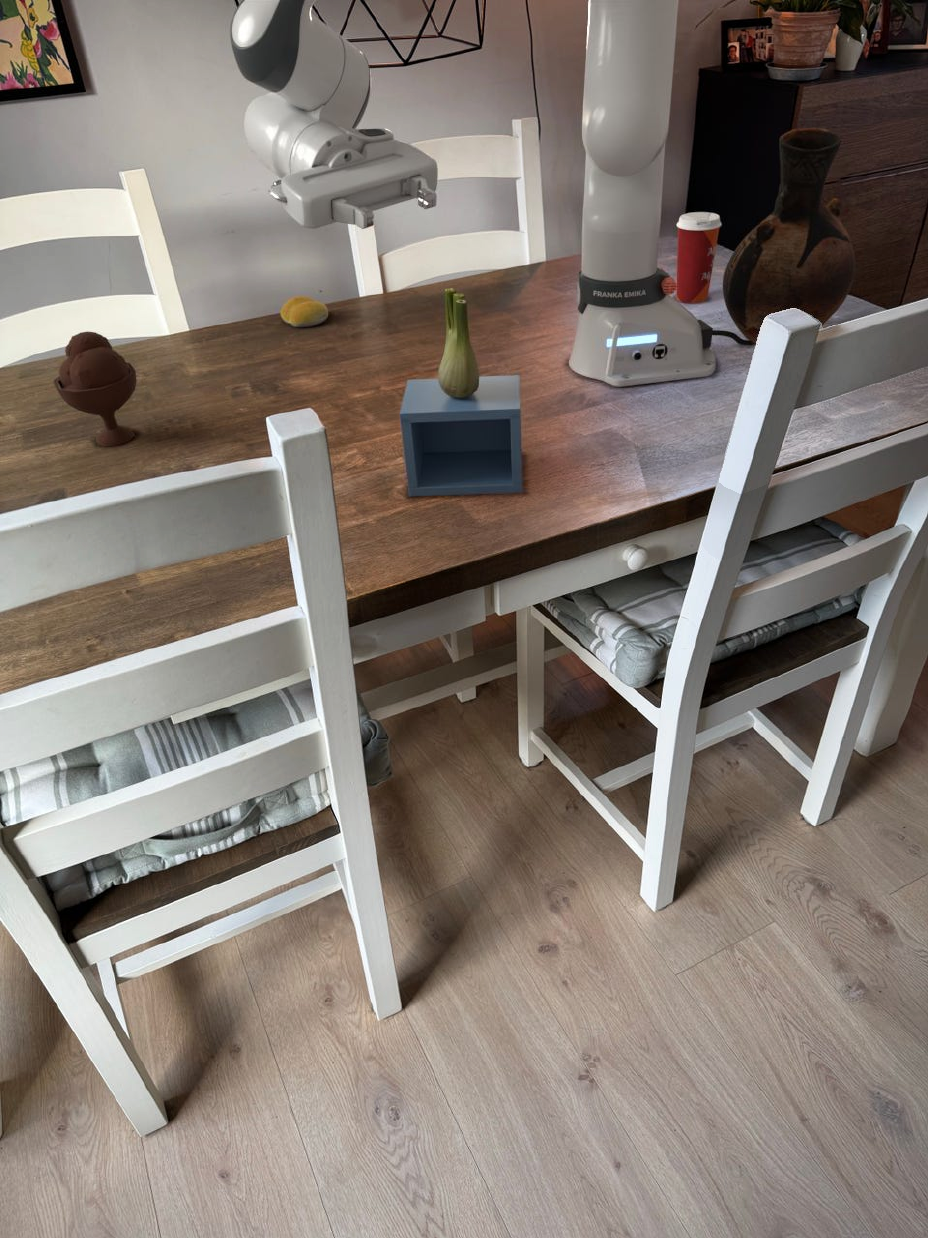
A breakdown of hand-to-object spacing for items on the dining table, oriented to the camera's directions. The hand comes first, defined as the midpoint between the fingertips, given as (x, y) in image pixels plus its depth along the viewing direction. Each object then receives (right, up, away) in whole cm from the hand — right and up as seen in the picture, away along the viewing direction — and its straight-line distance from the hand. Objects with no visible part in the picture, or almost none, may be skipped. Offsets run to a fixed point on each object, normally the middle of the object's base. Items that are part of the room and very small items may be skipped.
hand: (401, 211), depth 101 cm
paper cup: (+49, +11, +57) cm, 76 cm away
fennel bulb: (+7, -21, +2) cm, 22 cm away
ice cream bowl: (-43, -22, +24) cm, 54 cm away
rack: (+8, -30, +8) cm, 32 cm away
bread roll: (-22, +8, +60) cm, 65 cm away
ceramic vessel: (+58, -3, +38) cm, 70 cm away
